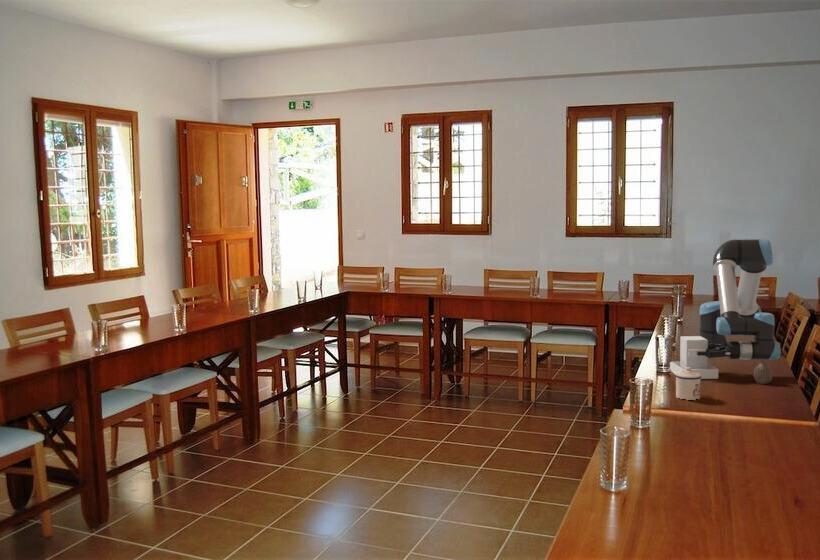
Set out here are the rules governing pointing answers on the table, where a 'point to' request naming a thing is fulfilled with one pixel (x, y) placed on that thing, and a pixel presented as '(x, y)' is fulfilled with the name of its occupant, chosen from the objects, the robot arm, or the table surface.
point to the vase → (763, 373)
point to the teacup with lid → (688, 384)
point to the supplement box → (692, 344)
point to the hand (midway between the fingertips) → (685, 349)
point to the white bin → (697, 370)
